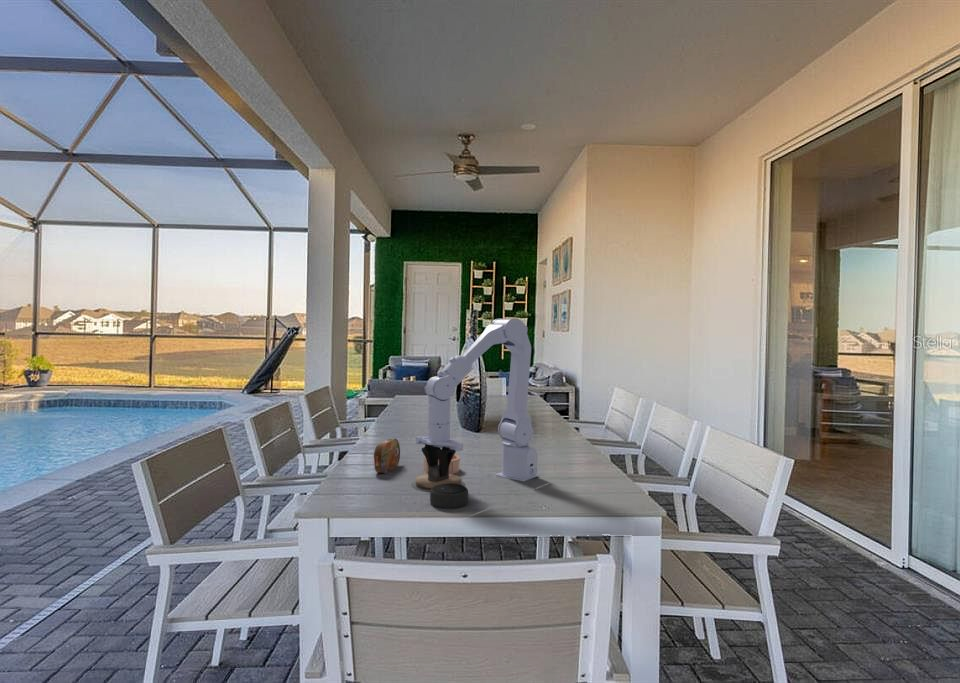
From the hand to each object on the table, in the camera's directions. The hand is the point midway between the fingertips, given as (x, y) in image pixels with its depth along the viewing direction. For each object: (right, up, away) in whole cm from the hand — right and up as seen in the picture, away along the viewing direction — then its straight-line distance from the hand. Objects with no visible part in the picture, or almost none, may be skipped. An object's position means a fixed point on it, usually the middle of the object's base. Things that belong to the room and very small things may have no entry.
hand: (438, 474), depth 148 cm
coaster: (0, -3, 0) cm, 3 cm away
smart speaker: (+4, -4, -15) cm, 16 cm away
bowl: (0, -2, +15) cm, 15 cm away
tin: (-16, -3, +16) cm, 22 cm away
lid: (0, -2, 0) cm, 2 cm away
